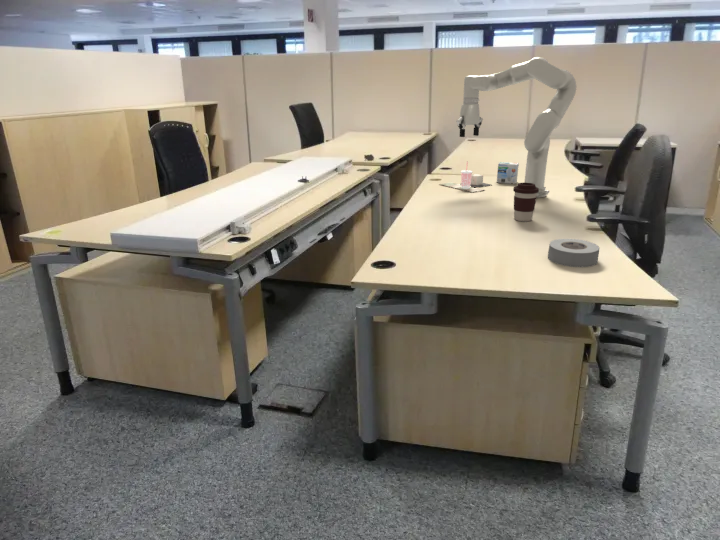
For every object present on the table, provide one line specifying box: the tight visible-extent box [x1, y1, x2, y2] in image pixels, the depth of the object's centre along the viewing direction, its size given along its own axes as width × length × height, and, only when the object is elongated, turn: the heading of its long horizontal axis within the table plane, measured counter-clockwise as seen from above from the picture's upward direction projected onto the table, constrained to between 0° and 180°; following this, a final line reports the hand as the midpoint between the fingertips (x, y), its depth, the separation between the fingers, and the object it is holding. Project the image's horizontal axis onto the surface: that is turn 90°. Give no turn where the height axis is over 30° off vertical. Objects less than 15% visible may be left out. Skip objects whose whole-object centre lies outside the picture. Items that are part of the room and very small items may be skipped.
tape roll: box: [547, 238, 600, 268], centre depth 174 cm, size 15×15×5 cm
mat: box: [470, 182, 492, 188], centre depth 295 cm, size 12×12×1 cm
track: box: [438, 182, 484, 193], centre depth 288 cm, size 26×9×1 cm, turn 33°
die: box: [471, 173, 484, 185], centre depth 294 cm, size 5×5×5 cm
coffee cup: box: [512, 182, 539, 222], centre depth 221 cm, size 10×10×15 cm
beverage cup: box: [460, 161, 473, 189], centre depth 283 cm, size 6×6×14 cm
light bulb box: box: [496, 161, 520, 185], centre depth 300 cm, size 11×7×11 cm, turn 68°
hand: (469, 136), depth 276 cm, fingers open, 9 cm apart
